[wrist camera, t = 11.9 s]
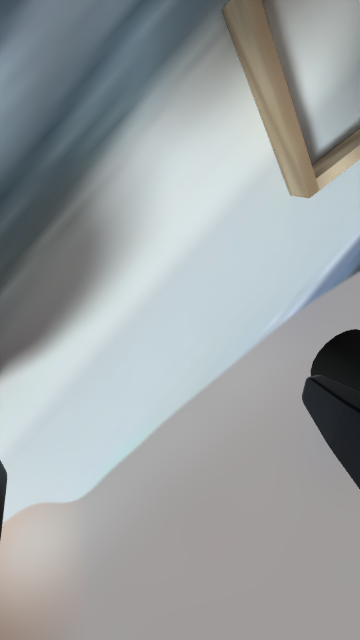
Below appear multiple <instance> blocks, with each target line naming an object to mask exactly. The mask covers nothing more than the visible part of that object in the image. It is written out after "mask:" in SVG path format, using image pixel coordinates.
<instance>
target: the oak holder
mask: <svg viewBox="0 0 360 640" xmlns="http://www.w3.org/2000/svg"><path fill="white" fill-rule="evenodd" d="M262 1H263V0H230V1H229V2H228V3H227V4H226V5H225V7H224V8H223V9H222V13H223V15H224V18H225V21H226V24H227V26H228V29H229V32H230V34H231V37H232V40H233V42H234V45H235V48H236V50H237V53H238V56H239V59H240V61H241V64H242V67H243V69H244V72H245V75H246V77H247V80H248V83H249V85H250V88H251V91H252V94H253V96H254V99H255V102H256V104H257V107H258V110H259V112H260V115H261V118H262V120H263V123H264V126H265V129H266V131H267V134H268V137H269V139H270V142H271V145H272V147H273V150H274V153H275V155H276V158H277V161H278V164H279V166H280V169H281V172H282V174H283V177H284V180H285V182H286V185H287V188H288V190H289V193H290V196H298V197H305V198H310V197H311V196H313V195H314V194H315V193H317V192H318V191H319V190H321V189H322V188H323V187H324V186H326V185H327V184H328V183H330V182H331V181H332V180H333V179H335V178H336V177H337V176H339V175H340V174H341V173H343V172H344V171H345V170H346V169H348V168H349V167H350V166H352V165H353V164H354V163H355V162H357V161H358V160H359V159H360V128H359V129H358V130H357V131H356V132H354V133H353V134H352V135H350V136H349V137H348V138H347V139H345V140H344V141H343V142H341V143H340V144H339V145H338V146H336V147H335V148H334V149H332V150H331V151H330V152H329V153H327V154H326V155H325V156H323V157H322V158H321V159H320V160H318V161H317V162H316V163H315V164H313V165H312V164H311V161H310V157H309V154H308V151H307V148H306V144H305V141H304V138H303V135H302V131H301V128H300V125H299V121H298V118H297V115H296V112H295V108H294V105H293V102H292V99H291V95H290V92H289V89H288V85H287V82H286V79H285V76H284V72H283V69H282V66H281V63H280V59H279V56H278V53H277V49H276V46H275V43H274V40H273V36H272V33H271V30H270V27H269V23H268V20H267V17H266V14H265V10H264V7H263V4H262Z"/></svg>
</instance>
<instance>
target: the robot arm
mask: <svg viewBox="0 0 360 640" xmlns="http://www.w3.org/2000/svg"><path fill="white" fill-rule="evenodd" d="M302 400H303V403H304V405H305V407H306V408H307V410H308V412H309V413H310V415H311V417H312V418H313V420H314V422H315V424H316V425H317V427H318V429H319V430H320V432H321V434H322V435H323V437H324V439H325V440H326V442H327V444H328V445H329V447H330V448H331V449H332V451H333V453H334V454H335V456H336V457H337V458H338V460H339V461H340V462H341V464H342V465H343V467H344V468H345V469H346V471H347V472H348V473H349V475H350V476H351V478H352V479H353V480H354V482H355V483H356V484H357V486H358V487H359V489H360V392H359V391H357V390H354V389H352V388H350V387H347V386H345V385H343V384H340V383H338V382H336V381H333V380H331V379H329V378H326V377H324V376H321V375H315V376H311V377H308V378H307V379H306V382H305V386H304V390H303V394H302ZM6 485H7V473H6V470H5V468H4V466H3V464H2V462H1V461H0V538H1V530H2V522H3V512H4V503H5V494H6Z"/></svg>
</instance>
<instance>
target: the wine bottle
mask: <svg viewBox="0 0 360 640" xmlns="http://www.w3.org/2000/svg"><path fill="white" fill-rule="evenodd" d="M315 375H321V376H324V377H326V378H329V379H331V380H333V381H336V382H338V383H340V384H343V385H345V386H347V387H350V388H352V389H354V390H357V391H359V392H360V330H356V329H354V330H349V331H345V332H343V333H341V334H339V335H337V336H335V337H334V338H333V339H331V340H330V341H329V342H328V343H326V344H325V345H324V347H323V348H322V349H321V350H320V351H319V353H318V354H317V356H316V358H315V359H314V361H313V364H312V368H311V376H315Z"/></svg>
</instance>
